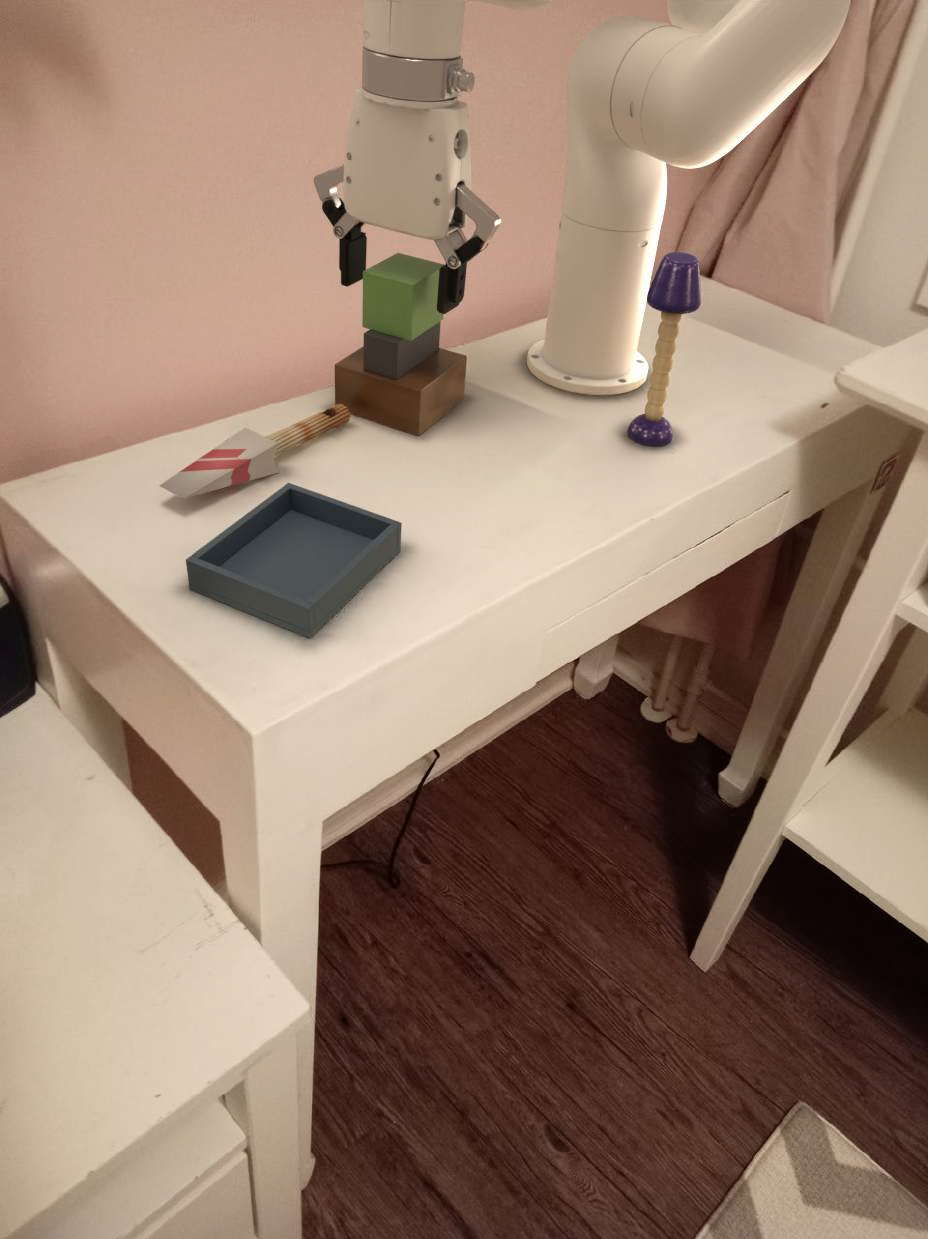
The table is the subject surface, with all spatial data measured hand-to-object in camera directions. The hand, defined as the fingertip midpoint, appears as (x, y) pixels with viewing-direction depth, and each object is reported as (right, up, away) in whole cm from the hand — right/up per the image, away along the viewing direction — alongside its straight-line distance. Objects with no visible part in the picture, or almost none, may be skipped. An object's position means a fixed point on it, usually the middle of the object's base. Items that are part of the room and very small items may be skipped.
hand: (400, 295), depth 86 cm
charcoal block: (0, -5, +4) cm, 6 cm away
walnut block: (0, -8, +7) cm, 11 cm away
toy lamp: (+23, -11, +6) cm, 26 cm away
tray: (-6, -25, -15) cm, 30 cm away
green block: (0, -2, +2) cm, 3 cm away
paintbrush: (-11, -15, -3) cm, 19 cm away
